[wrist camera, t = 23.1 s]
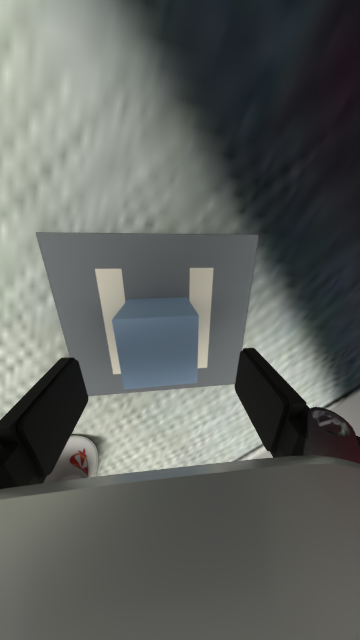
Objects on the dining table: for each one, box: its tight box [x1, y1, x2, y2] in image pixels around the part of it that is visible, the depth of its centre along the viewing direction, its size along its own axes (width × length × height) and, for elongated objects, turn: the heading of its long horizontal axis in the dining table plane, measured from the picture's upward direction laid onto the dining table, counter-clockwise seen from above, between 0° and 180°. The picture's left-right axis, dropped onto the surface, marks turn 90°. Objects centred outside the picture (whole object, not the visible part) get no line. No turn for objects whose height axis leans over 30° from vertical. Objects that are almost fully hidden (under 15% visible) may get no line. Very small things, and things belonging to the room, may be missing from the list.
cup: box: [44, 435, 99, 483], centre depth 21 cm, size 11×8×8 cm
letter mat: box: [36, 232, 259, 396], centre depth 18 cm, size 20×18×1 cm
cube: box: [112, 297, 199, 390], centre depth 15 cm, size 6×6×6 cm
